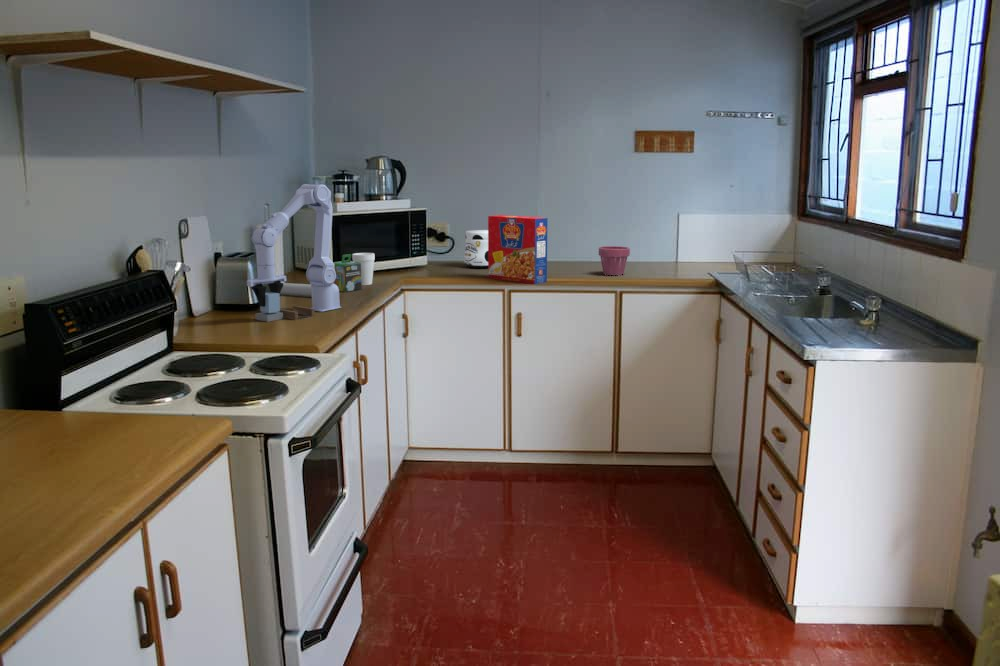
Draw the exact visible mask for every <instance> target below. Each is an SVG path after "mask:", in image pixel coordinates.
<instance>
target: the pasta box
mask: <svg viewBox="0 0 1000 666" xmlns="http://www.w3.org/2000/svg"><path fill="white" fill-rule="evenodd" d="M487 230H488V267H487V268H488V269H487V270H488V273H487V275H488V276H487V277H488V279H493V280H494V279H495V280H500V281H501V280H502V281H508V282H517V283H523V284H530V285H538V284H545V283H547V282H548V217H540V216H539V217H536V216H535V217H534V216H533V217H532V216H520V215H503V214H502V215H501V214H499V215H488V216H487Z"/></svg>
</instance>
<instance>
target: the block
mask: <svg viewBox="0 0 1000 666" xmlns="http://www.w3.org/2000/svg"><path fill="white" fill-rule="evenodd" d="M280 296H281V295H280V294H279V293H274V292H270V291H268V292H267V291H266V293H265V307H262V306H259V311H260V312H266V313H273V312H278V311H280V309H281V302H280V301H281V299H280Z"/></svg>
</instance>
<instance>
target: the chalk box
mask: <svg viewBox="0 0 1000 666" xmlns="http://www.w3.org/2000/svg"><path fill="white" fill-rule="evenodd" d="M345 258H347V259H346V260H345ZM351 259H352V254H350V253H349V254H347V253H346V254H343V255H342V256H341V261H334V262H333V263H334V264H335V266H334V269H335V272H336V279H335V281H334V282H333V284H336V285H337V287H338V289H339V292H343V293H347V292H353V291H355V292H356V291H361V290H363V287H362V286H363V285H362V283H361V262H354V261H353V260H351Z"/></svg>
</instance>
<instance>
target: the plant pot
mask: <svg viewBox="0 0 1000 666" xmlns="http://www.w3.org/2000/svg"><path fill="white" fill-rule="evenodd" d="M630 251H631V249H630V247H627V246H617V245H615V246H614V245H607V246H605V245H604V246H599V247H598V256H599V257H600V262H601V267H602V273H603V275H604V274H607V275H606V276H608V275H622V274H623V275H624V274H625V269H626V266H627V261H628V257H629V256H630ZM623 275H622V276H623Z"/></svg>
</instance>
